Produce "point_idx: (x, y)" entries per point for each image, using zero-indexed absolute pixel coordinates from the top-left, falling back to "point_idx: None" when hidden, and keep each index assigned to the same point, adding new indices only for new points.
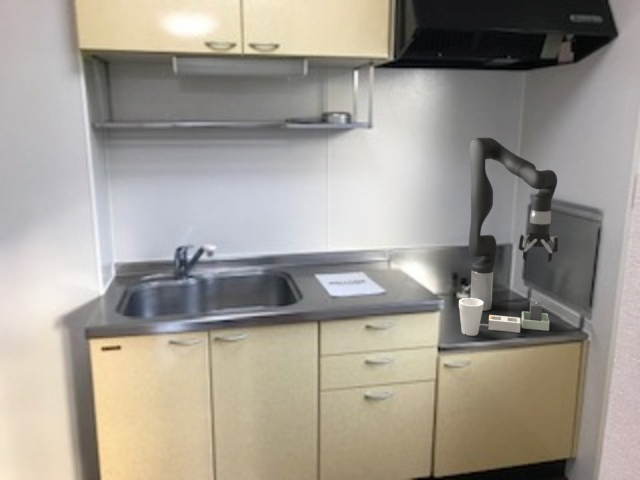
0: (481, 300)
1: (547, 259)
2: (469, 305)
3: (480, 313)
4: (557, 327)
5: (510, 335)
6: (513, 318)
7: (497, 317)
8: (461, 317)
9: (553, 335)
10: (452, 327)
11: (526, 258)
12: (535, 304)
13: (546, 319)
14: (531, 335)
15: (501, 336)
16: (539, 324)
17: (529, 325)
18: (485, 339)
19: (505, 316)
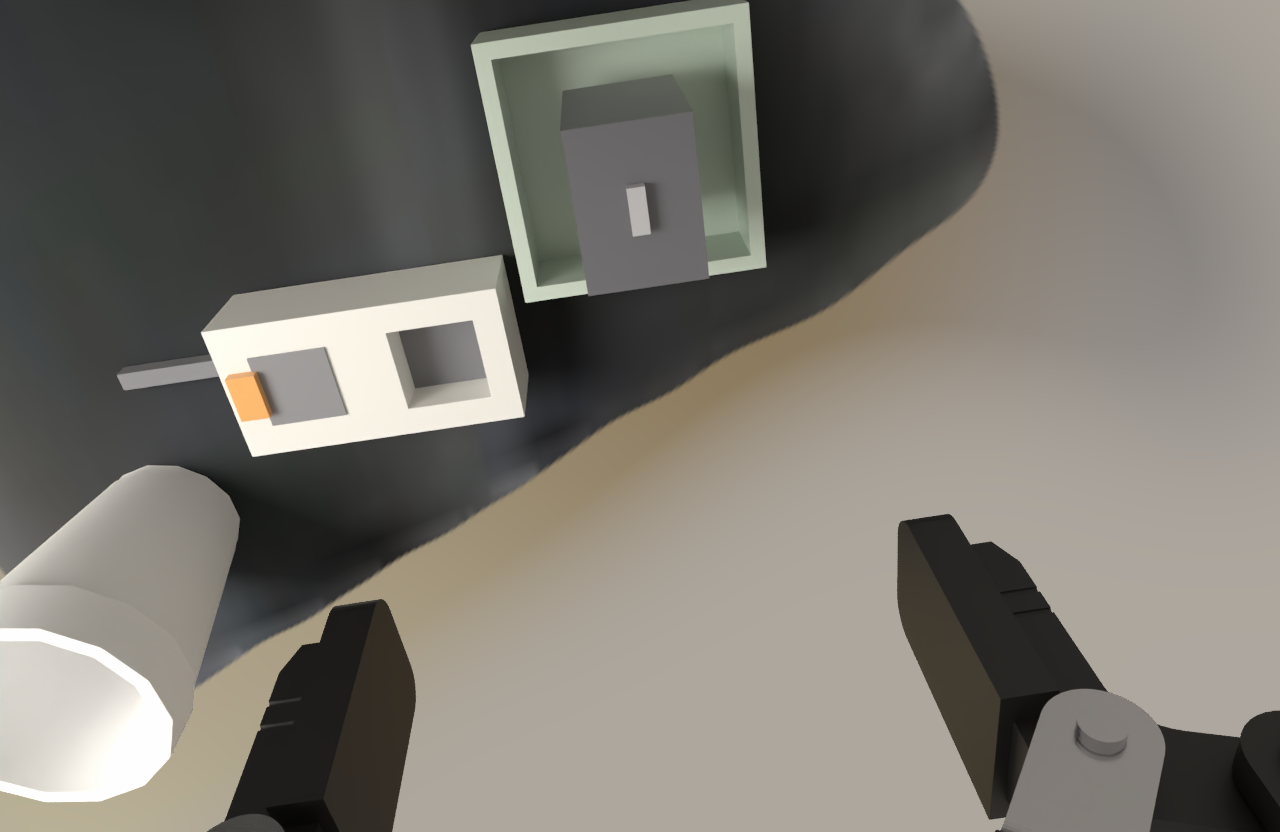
0: (110, 655)
1: (913, 566)
2: (79, 794)
3: (196, 673)
4: (829, 122)
5: (471, 451)
6: (439, 322)
7: (298, 372)
8: (59, 656)
9: (788, 322)
10: (3, 481)
11: (403, 743)
12: (631, 235)
13: (736, 118)
14: (622, 389)
15: (414, 492)
16: None
17: None
18: (326, 579)
19: (356, 308)
